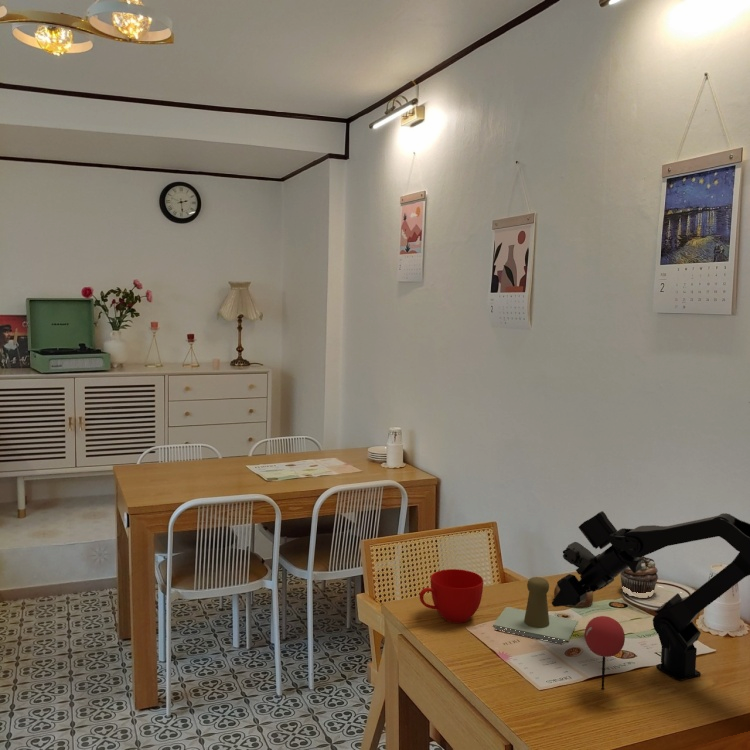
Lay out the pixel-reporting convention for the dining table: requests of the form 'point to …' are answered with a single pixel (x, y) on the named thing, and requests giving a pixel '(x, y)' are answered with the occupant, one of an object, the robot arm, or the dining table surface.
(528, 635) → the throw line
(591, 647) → the lollipop
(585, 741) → the dining table surface
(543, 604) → the olive game pawn
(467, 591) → the ceramic cup
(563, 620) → the green spiral notebook
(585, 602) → the bread roll
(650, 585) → the cupcake
